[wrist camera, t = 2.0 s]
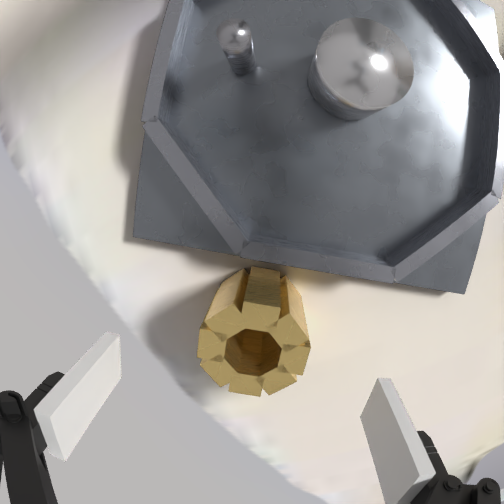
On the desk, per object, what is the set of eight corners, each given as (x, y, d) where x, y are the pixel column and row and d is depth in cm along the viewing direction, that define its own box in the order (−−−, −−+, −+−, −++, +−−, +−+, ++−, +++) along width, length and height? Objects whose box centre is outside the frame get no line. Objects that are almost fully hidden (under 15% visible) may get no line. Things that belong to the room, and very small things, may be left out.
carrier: (202, -56, 15) (183, -104, 9) (485, 14, 15) (526, -11, 9) (141, 232, 22) (95, 256, 15) (455, 287, 21) (500, 323, 15)
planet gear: (221, 260, 22) (203, 293, 16) (308, 276, 22) (320, 313, 16) (211, 336, 23) (194, 384, 18) (290, 349, 23) (294, 401, 17)
